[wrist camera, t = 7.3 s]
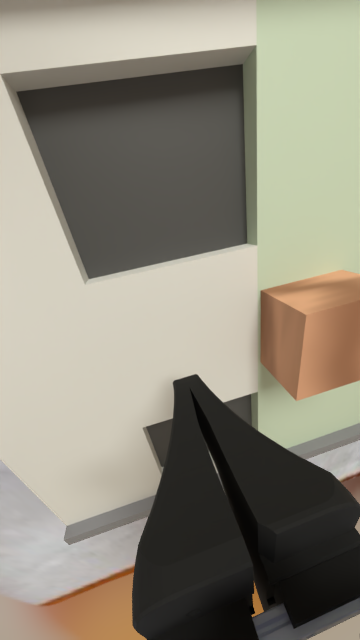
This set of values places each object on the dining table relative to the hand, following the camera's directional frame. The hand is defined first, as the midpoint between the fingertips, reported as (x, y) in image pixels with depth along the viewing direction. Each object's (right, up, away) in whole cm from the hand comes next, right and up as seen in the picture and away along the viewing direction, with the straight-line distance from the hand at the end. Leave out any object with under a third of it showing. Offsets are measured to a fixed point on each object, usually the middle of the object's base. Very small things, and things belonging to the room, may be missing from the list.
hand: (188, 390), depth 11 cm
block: (+8, +4, +4) cm, 10 cm away
